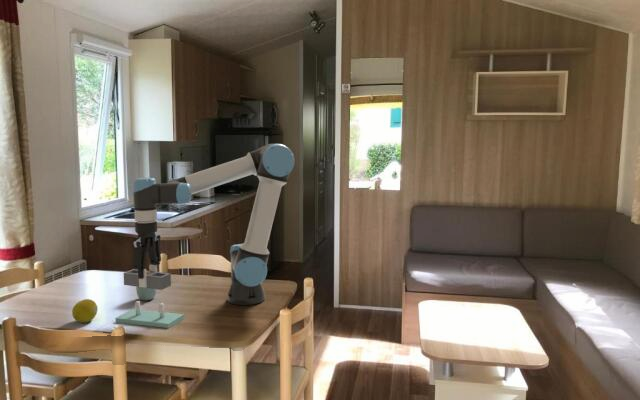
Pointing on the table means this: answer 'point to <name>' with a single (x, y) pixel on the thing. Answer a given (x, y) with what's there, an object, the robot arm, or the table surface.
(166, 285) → the grey rectangular block
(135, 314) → the pegboard
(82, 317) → the lemon
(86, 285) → the table surface
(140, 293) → the cup
